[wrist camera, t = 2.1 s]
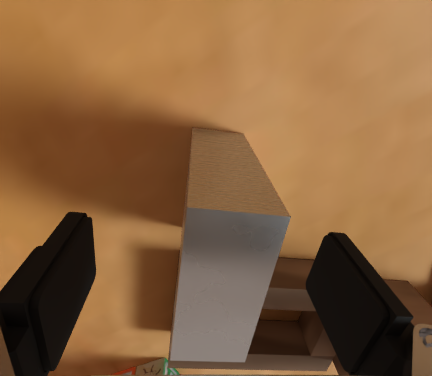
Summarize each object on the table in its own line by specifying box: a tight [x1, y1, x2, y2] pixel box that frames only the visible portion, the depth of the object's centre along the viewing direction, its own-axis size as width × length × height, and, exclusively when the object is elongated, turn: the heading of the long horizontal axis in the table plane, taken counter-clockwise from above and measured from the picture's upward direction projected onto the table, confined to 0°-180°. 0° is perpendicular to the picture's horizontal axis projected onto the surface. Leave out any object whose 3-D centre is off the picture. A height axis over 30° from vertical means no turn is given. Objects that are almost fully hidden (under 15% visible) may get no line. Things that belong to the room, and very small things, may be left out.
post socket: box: [168, 252, 432, 376], centre depth 18 cm, size 9×19×11 cm, turn 82°
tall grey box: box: [170, 127, 291, 362], centre depth 13 cm, size 3×7×9 cm, turn 172°
